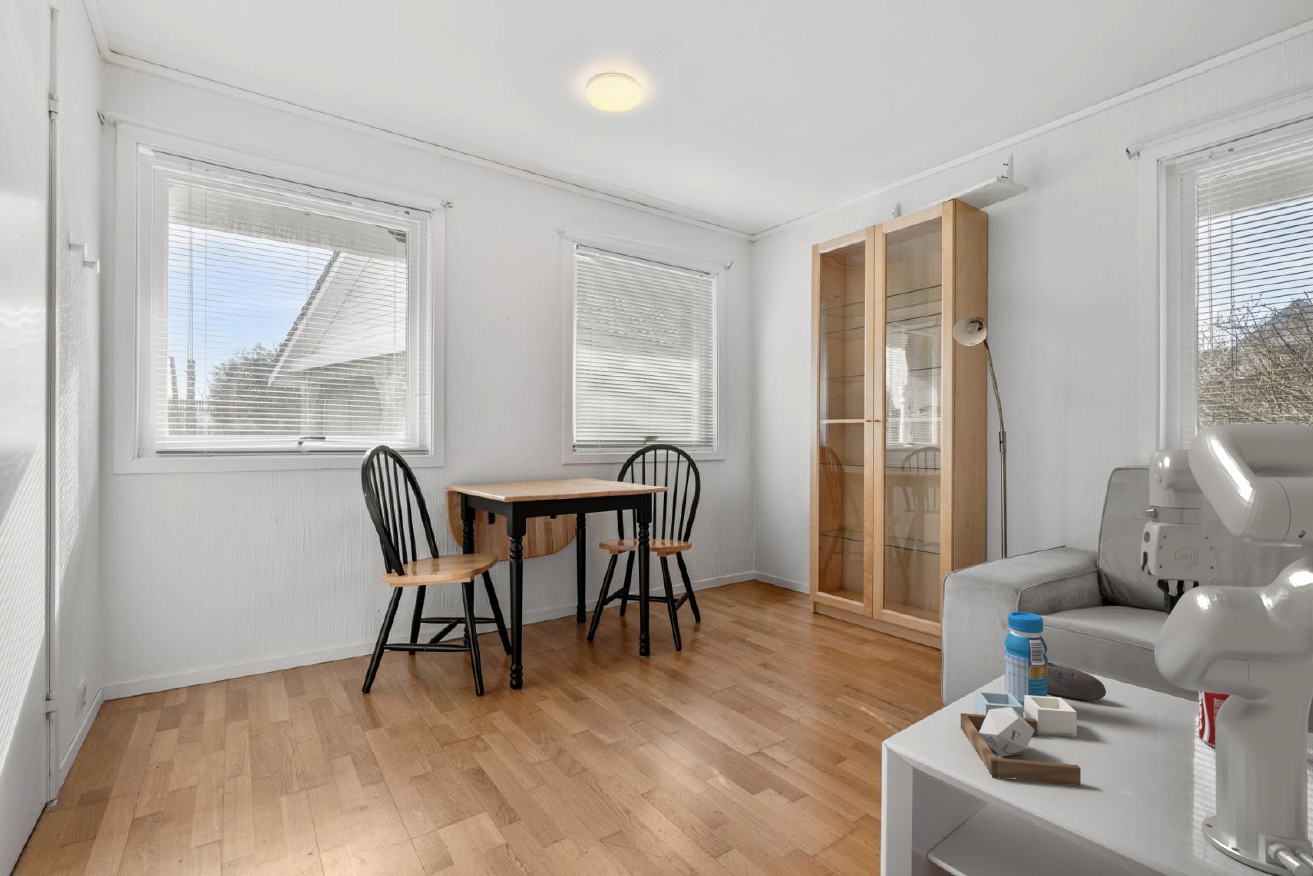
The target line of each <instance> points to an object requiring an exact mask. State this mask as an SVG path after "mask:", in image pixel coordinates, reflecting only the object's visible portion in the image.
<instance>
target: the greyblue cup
mask: <svg viewBox="0 0 1313 876" xmlns="http://www.w3.org/2000/svg"><path fill="white" fill-rule="evenodd" d="M974 694H975V695H974V697H975V698H974V699H975V703H974V704H975V705H974V706H975V707H974V708H975V713H974V714H977V715H987V713H988V711H989V709H998V708H1006V707H1012V708H1013V709H1014V710H1015V711H1016V712H1017V713H1018V714H1019V715H1020V716H1021V717H1022V718H1024V710H1023V706H1022V705H1021V704H1020V703H1019V702H1018V701H1017V700H1016V699H1015V698H1014V696H1013V695H1012V694H1011V693H1005V692H998V691H997V692H995V691H982V690H975V691H974Z"/></svg>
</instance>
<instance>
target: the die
mask: <svg viewBox="0 0 1313 876" xmlns="http://www.w3.org/2000/svg"><path fill="white" fill-rule="evenodd" d="M1023 718H1024V717H1023ZM1023 718H1022V717H1021V716H1020V715H1019V714H1018V713H1017V712H1016V711H1015V710H1014V709H1013V708H1012V707H1006V708H998V709H989V711H988V713H987V715H986V718H985V720H984V722H983V724H982V727H981V729H980V731H978V732H979V734H980V735H981V737H982V738H983V740H984V741H985V742H986V743H987V745H988V746H990V747H991V748H992V749H993V750H994V751H995V753H997V755H998V756H999V757H1000V756H1001V757H1000V758H1004V756H1006V757H1012V755H1013V756H1020V755H1024V754H1025V752H1026V750H1027V748H1028V746H1029V743H1030V742H1031V739H1032V737H1033V736H1032V735H1033V732H1034V729H1033V728H1032V727H1031V726H1030V725H1029V724H1028V723H1027V722H1026V721H1025V720H1024V719H1023Z"/></svg>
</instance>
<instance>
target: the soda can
mask: <svg viewBox="0 0 1313 876" xmlns="http://www.w3.org/2000/svg"><path fill="white" fill-rule="evenodd" d="M1229 696H1230V695H1227V694H1218V693H1208V692H1200V691H1198V736H1199V739H1200V740H1201V741H1202V742H1204V743H1205V744H1206V745H1208V746H1210V747H1212V746H1214V747H1215V732H1216V731H1215V723H1216V716H1217V713H1218V711H1219V709H1220V707H1221V706H1222V704H1223V703H1224V702H1225V701H1226V699H1227V698H1228V697H1229ZM1214 747H1213V748H1214Z"/></svg>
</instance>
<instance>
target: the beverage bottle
mask: <svg viewBox="0 0 1313 876" xmlns="http://www.w3.org/2000/svg"><path fill="white" fill-rule="evenodd" d="M1007 618H1008V619H1007V623H1008V629H1009V630H1010V632H1009V633H1008V634H1007V635H1006V637H1005V640H1004V646H1005V648H1006V649H1005V650H1004V652H1003V654H1004V655H1003V658H1004V674H1005V675H1004V677H1005V679H1004V680H1005V681H1004V683H1005V684H1004V685H1005V686H1004V687H1005V688H1004V689H1005V690H1004V691H1005V692H1004V693H1011V694H1012V695H1013V696H1014V698H1015V699H1016V700H1017V701H1018V702H1019V703H1020V704H1021V705H1022V706H1023V711H1024V695H1030V696H1044V697H1048V693H1047V665H1048V662H1049V658H1048V656H1047V654H1046V653H1047V652H1048V646H1047V643H1046V640H1045V639H1044V638H1043V637H1042V635H1041V634H1043V632H1044V619H1043V617H1042V616H1041V615H1039V614H1036V613H1032V612H1024V611H1012V612H1009V613H1008V616H1007Z"/></svg>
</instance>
